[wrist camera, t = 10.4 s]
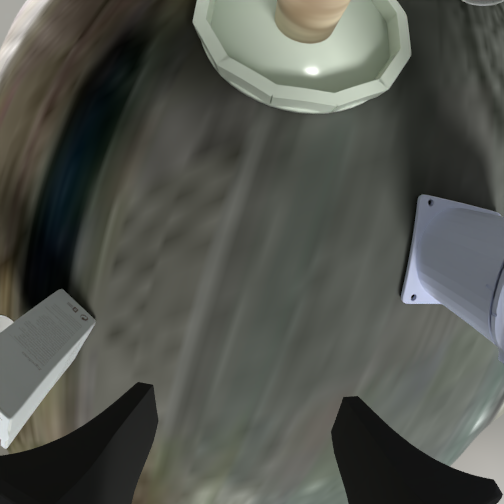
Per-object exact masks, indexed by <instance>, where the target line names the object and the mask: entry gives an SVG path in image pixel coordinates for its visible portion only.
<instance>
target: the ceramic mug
mask: <svg viewBox="0 0 504 504" xmlns="http://www.w3.org/2000/svg"><path fill="white" fill-rule="evenodd" d="M462 1H463V2H465V3H468V4H472V5H478V6H486V5H495V4H498V3H501V2H503V1H504V0H462Z"/></svg>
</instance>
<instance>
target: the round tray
mask: <svg viewBox="0 0 504 504" xmlns="http://www.w3.org/2000/svg"><path fill="white" fill-rule="evenodd" d="M276 4H277V0H197V3H196V7H195V12H194V17H193V25H194V27H195V30H196V32H197V35H198V37H199V38H200V40H201V42H202V45H203V48H204V50H205V53H206V55H207V57H208V59H209V61H210V62H211V64H212V65H213V67H214V68H215V70H216V71H217V72H218V73H219V75H221V76H222V78H223V79H224V80H226V81H227V82H228V83H229V84H230V85H231V86H232V87H234V88H235V89H237V90H238V91H240V92H241V93H243V94H244V95H246V96H248V97H250V98H252V99H253V100H255V101H257V102H260V103H262V104H265V105H267V106H270V107H273V108H277V109H280V110H283V111H289V112H294V113H302V114H329V113H335V112H341V111H344V110H348V109H351V108H354V107H356V106H358V105H361V104H363V103H364V102H366V101H367V100H369V99H372V98H375V97H377V96H379V95H381V94H382V93H384V92H385V91H387V90H388V89H389V88H390V87H391V85H392V84H393V82H394V81H395V79H396V78H397V76H398V75H399V73H400V72H401V70H402V69H403V67H404V66H405V64H406V63H407V61H408V60H409V58H410V57H411V45H410V36H409V28H408V21H407V15H406V13H405V11H404V10H403V9H402V7H401V6H400V4H399V3H398V2H397V0H351V1H350V3H349V5H348V6H347V8H346V10H345V11H344V13H343V15H342V17H341V18H340V20H339V22H338V24H337V25H336V27H335V29H334V31H333V32H332V34H331V35H330V37H329V38H327V39H326V40H324V41H322V42H319V43H314V44H306V43H300V42H297V41H294V40H292V39H290V38H288V37H286V36H285V35H284V34H283V33H282V32H281V31H280V30H279V29H278V27H277V25H276V23H275V11H276Z"/></svg>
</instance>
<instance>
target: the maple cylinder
mask: <svg viewBox="0 0 504 504" xmlns="http://www.w3.org/2000/svg"><path fill="white" fill-rule="evenodd" d="M350 1H351V0H277V4H276V11H275V23H276V25H277V27H278V29H279V30H280V31H281V32H282V33H283V34H284V35H285V36H286V37H288V38H290V39H292V40H294V41H297V42H300V43H306V44H314V43H319V42H322V41H324V40H326V39H327V38H329V37H330V35H331V34H332V32H333V31H334V29H335V27H336V25H337V24H338V22H339V20H340V18H341V17H342V15H343V13H344V11H345V10H346V8H347V6H348V5H349V3H350Z"/></svg>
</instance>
